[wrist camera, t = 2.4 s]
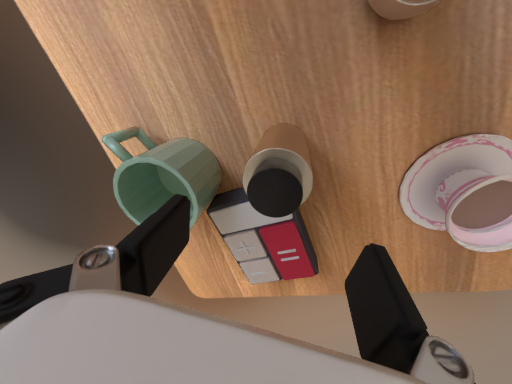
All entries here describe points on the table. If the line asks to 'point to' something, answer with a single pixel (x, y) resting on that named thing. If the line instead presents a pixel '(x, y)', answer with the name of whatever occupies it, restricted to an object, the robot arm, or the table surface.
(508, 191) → the teacup
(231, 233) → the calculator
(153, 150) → the mug
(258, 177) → the flask
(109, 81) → the table surface
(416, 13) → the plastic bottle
